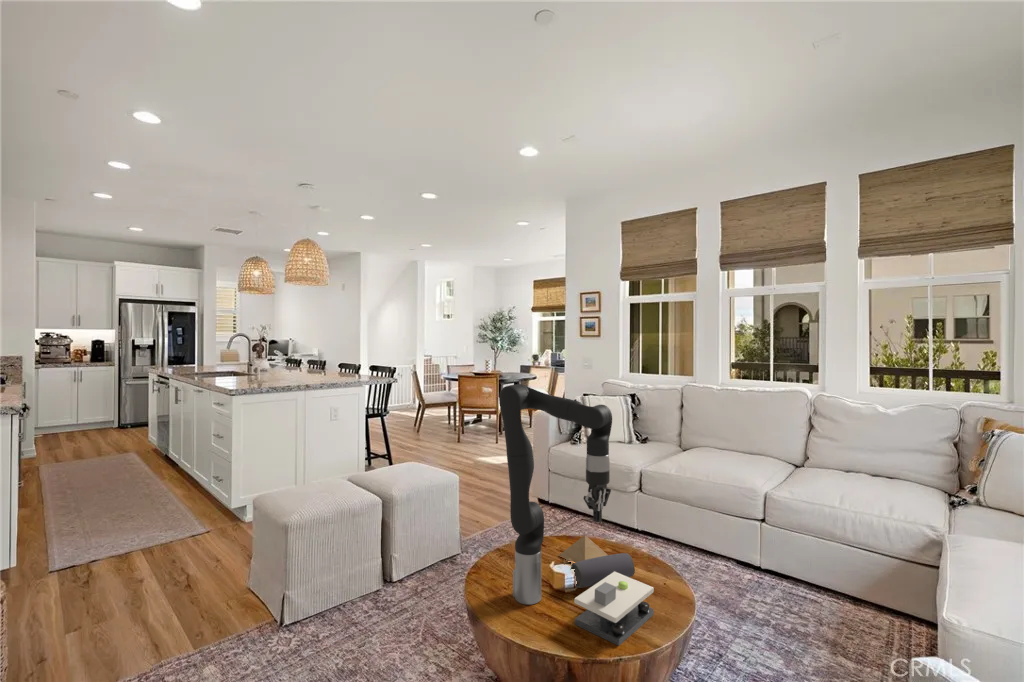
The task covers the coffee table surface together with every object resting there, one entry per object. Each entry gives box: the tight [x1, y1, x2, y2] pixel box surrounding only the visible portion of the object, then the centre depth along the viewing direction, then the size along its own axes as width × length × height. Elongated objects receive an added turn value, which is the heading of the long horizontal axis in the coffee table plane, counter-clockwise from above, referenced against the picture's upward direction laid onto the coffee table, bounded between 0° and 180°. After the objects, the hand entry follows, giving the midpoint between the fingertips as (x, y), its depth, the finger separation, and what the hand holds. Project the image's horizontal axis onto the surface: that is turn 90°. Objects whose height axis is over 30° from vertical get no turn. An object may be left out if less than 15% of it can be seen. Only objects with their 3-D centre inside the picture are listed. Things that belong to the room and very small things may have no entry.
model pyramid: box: [557, 534, 608, 562], centre depth 208 cm, size 17×17×10 cm
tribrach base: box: [574, 601, 655, 647], centre depth 163 cm, size 16×22×6 cm
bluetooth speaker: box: [570, 552, 636, 589], centre depth 186 cm, size 23×9×10 cm, turn 111°
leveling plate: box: [574, 571, 655, 623], centre depth 163 cm, size 15×24×7 cm, turn 137°
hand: (597, 521), depth 161 cm, fingers closed
